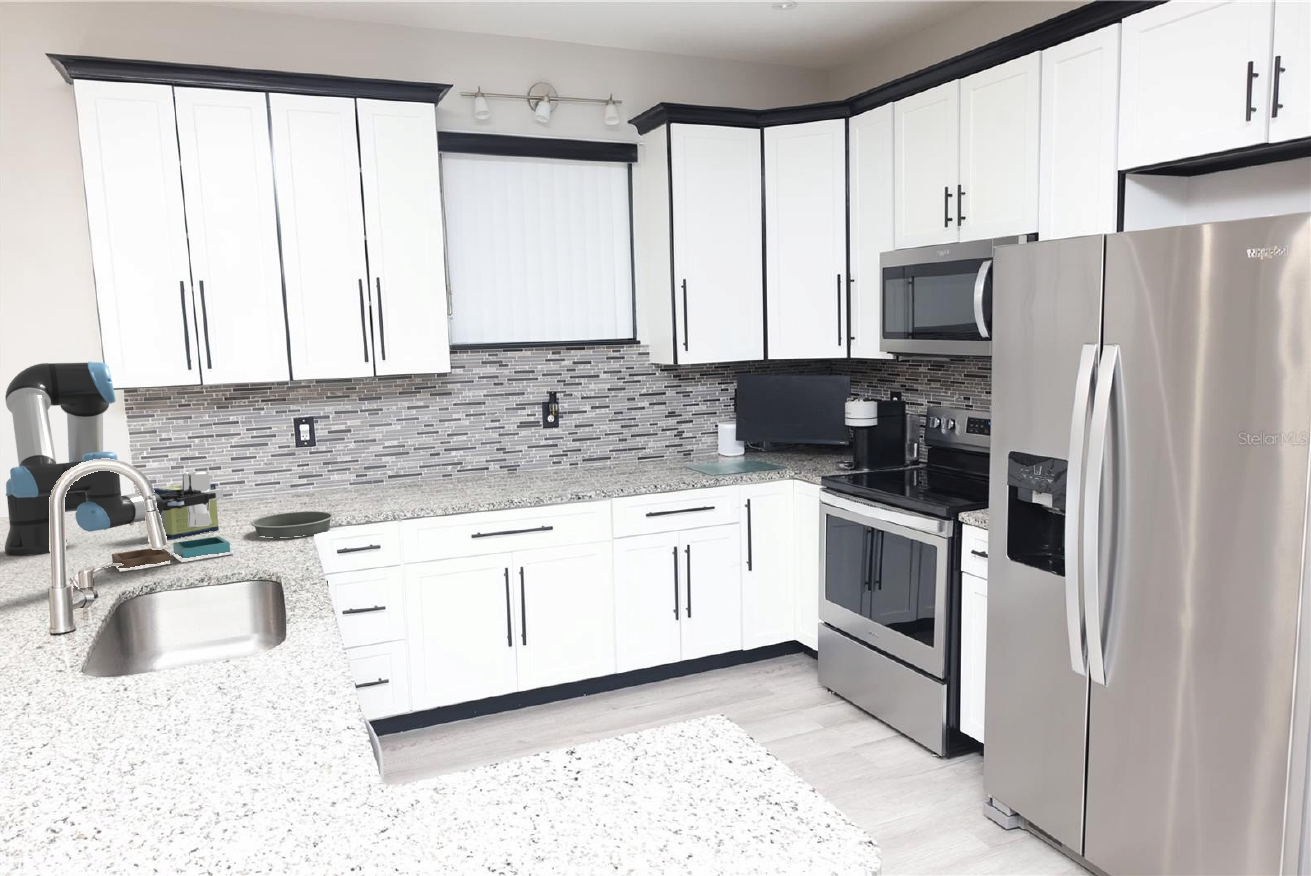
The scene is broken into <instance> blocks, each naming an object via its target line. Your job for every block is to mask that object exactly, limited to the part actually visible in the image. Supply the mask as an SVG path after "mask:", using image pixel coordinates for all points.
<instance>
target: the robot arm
mask: <svg viewBox="0 0 1311 876" xmlns="http://www.w3.org/2000/svg"><path fill="white" fill-rule="evenodd" d="M112 380H113V379H112V375H111V371H110V368H109V365H108V364H106V363H105V362H97V361H96V362H92V361H88V362H55V363H53V362H52V363H51V362H44V363H38V364H34V365H30V366H29V367H26V368H24V369H23V370H22V371H20V372H19V373H17V375H16V376H15V377H14V378H13V379H12V380H11V381H10V382H9V384H8V386H7V388H6V391H5V405H6V408H7V410H8V411H9V412H10V413H11V414H12V423H13V431H14V439H15V447H16V453H17V454H16V455H17V460H18V466H16V467H15V466H14V467H12V468H10V470H9V474H10V477H9V479H7V481H6V483H5V490H6V491H5V492H6V493H5V497H6V501H7V510H8V520H9V521H8V522H9V531H8V533H7V538H6V541H5V544H4V555H6V556H11V557H12V556H13V557H14V556H17V557H18V556H31V555H40V554H41V555H42V554H47V553H50V552H49V497H50V495H51V490H52V489H53V487H54V485H55V484H56V481H57V480H58V479H59V478H60V477H61V475H62V474H63V473H64V472H65V471H67V470H69V469H70V468H71V467H74V466H76V465H78V464H79V463H81V462H86V461H89V460H93V459H101V458H110V459H115V460H118V455H117V454H116V453H115V452H113V451H104V413H106V411H108V409H109V408H110V404H111V405H112V404H113V403H115V402H116V401H117V400H116V395H115V390H114V386H113V381H112ZM51 406H53V407H55V406H60V408H61V410H62V411H63V412H64V413H66V420H67V421H66V422H67V447H68V449H67V450H68V462H61V463H57V459H56V454H55V447H54V442H53V441H54V440H53V436H52V435H53V434H52V429H51V422H50V415H49V411H48V410H49V409H50V408H51ZM119 474H120V473H119ZM119 474H117V473H114V472H110V471H98V472H94V473H91V474H88V475H86V476H83V477H81V478H80V479H79V480H78V481H75V482H74V483H73V485H71V486H70V489H69V490H68V491H67V494H66V497H65V512H64V513H68V512H70V513H71V512H75V520H76V523H77V524H78V526H79V528H81V529H82V530H84V531H86V532H90V533H91V532H97V531H101V530H102V531H103V530H104V531H106V530H109V529H111V528H112V529H113V528H116V527H120V526H127V525H129V526H134V524H135V523H139V522H143V521H144V522H145V507H144V499H143V497H142V496H141V494H139V493H140V492H137V493H130V494H125V495H122V490H121V489H122V488H121V478H120V477H121V476H120V475H119ZM176 492H177V493H174V492H171V493H166V494H162V495H158V494H157V493H155V492H154V493H155V497H156V501H157V508H158V510H159V513H160V515H161V513H162V511H166V510H171V509H173V508H178V509H180V508H183V507H187V506H193V505H198V504H204V505H206V503H209V501H211V500H216V499H217V500H220V499H224V492H223V488H217V489H216V490H211V491H207V492H202V493H200V494H193V495H186V496H184V495H183V492H182V493H181V490H176ZM66 542H67V543H68V539H67V538H66Z"/></svg>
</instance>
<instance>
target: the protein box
mask: <svg viewBox="0 0 1311 876" xmlns="http://www.w3.org/2000/svg"><path fill="white" fill-rule="evenodd" d="M216 487H217V486H216V483H210V488H211V490H217V489H216ZM153 489H154V490H155V493H157V494H158V495H162V494H166V493H171V492H174V493H177V492H176V490H181V493H182V492H183V487H182V484H175V485H171V486H170V485H169V486H162V487H155V488H153ZM217 500H218V499H216V500H211V501H210V505H209V514H210V519H211V522H212V524H211V525H209V526H204V527H188V510H187V507H183V508H180V509H178V508H173V509H171V510H166V511H162V513H161V518H162V523H163V527H164V529H165V532H166V536H167V538H166V539H169V538H170V539H169V540H175V539H181V537H183V538H186V537H185V536H188V537H192V535H193V536H196V534H198V535H201V534H200V533H203V534H205V533H204V532H208V533H210V532H209V531H213V532H217V530H218V531H219V529H220V528H219V517H218V515H219V513H218V503H217V502H218V501H217Z"/></svg>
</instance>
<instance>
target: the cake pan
mask: <svg viewBox="0 0 1311 876" xmlns="http://www.w3.org/2000/svg"><path fill="white" fill-rule="evenodd" d="M333 518H334V514H333V513H332V512H328V511H327V512H326V511H319V510H312V511H311V510H308V511H290V512H282V513H275V514H270V515H266V516H265V515H264V516H261V517H259V518H256V519H253V520H252V521H250V525H251V526H253V527H254V529H255V532H256V535H257V536H258V537H259V536H265V537H273V538H278V539H281V538H280V537H294V536H303V535H309V536H312V535H313V536H314V535H318V534H321V533H324V532H326V531H328V530H329V529H330V524H331V520H332V519H333ZM303 537H304V536H303ZM273 538H272V539H273ZM294 538H295V537H294Z"/></svg>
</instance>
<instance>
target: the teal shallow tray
mask: <svg viewBox="0 0 1311 876" xmlns="http://www.w3.org/2000/svg"><path fill="white" fill-rule="evenodd" d="M172 547H173V553H175V554H178V555H179V556H181V557H182V558H190V557H196V556H201V555H208V554H219V553H225V552H230V551H231V545H230V542H229V541H228V540H226V539H225V538H222V537H221V536H220V535H219V536H218V535H217V536H211V537H204V538H197V539H191V540H190V539H189V540H184V541H183V540H182V541H177V542H176V541H175V542H172Z"/></svg>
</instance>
